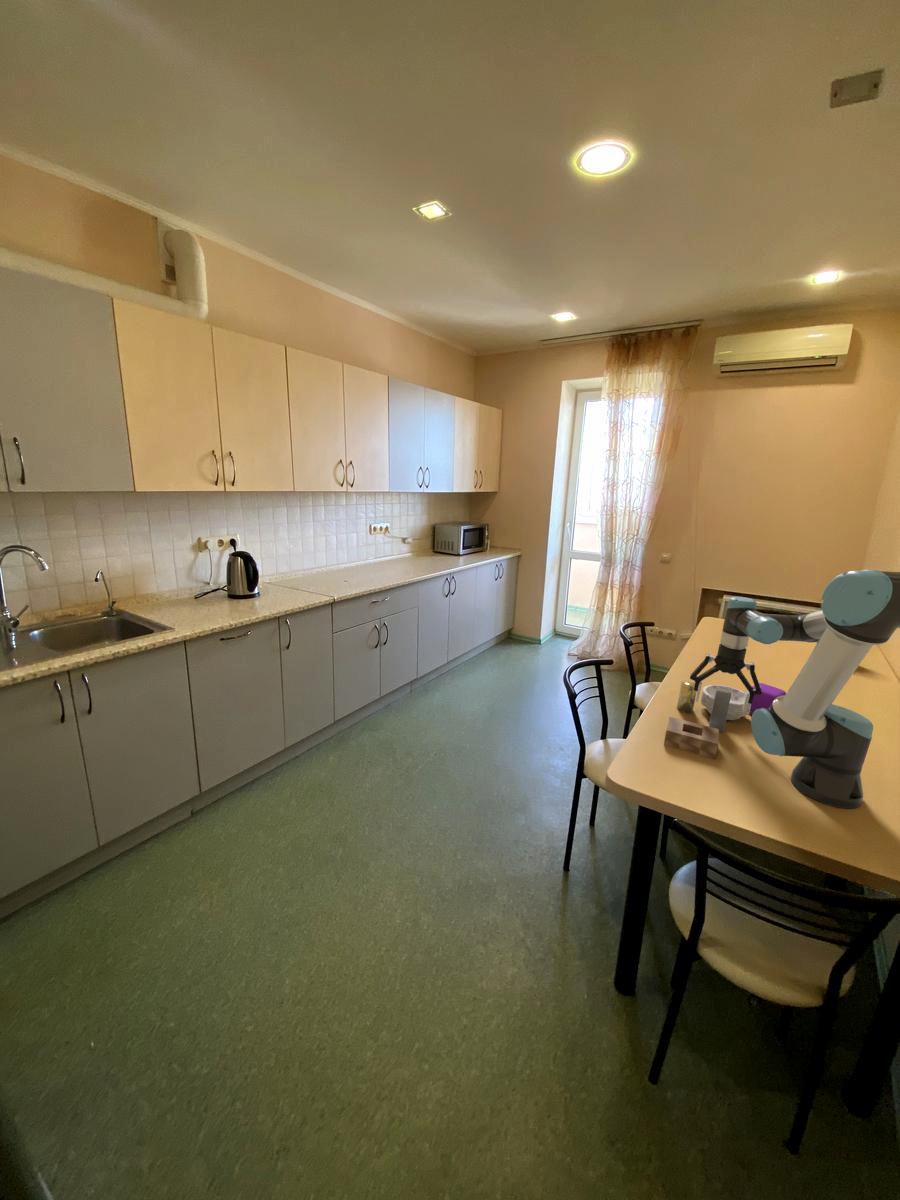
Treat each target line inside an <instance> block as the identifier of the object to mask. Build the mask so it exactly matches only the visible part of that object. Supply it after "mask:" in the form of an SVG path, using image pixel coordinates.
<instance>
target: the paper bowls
mask: <svg viewBox="0 0 900 1200" xmlns="http://www.w3.org/2000/svg"><path fill="white" fill-rule="evenodd" d="M717 686H720V687H725V688H729V689H731V698H730V703H729V708H728V713H727V717H726V721H735V720H740V718H741V717H746V716H748V715H749V714H750V713H751V712H750V709H751V704H750V703H748V705H747V709H746V713H743V705H744V701H745V697H746V692H744V691H743V690H740V689H738V688H734V687H732V686H727V685H721V684H710V685H709V684H708V685H705V686H703V688H702V689H701V691H702V692H701V696H700V703H701V705H702V706H703V707H704V708H706V710H707V712H708V713H709V714H710V715H711V712H712V707H713V702H714V697H715V692H716V687H717Z"/></svg>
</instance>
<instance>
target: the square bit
mask: <svg viewBox="0 0 900 1200" xmlns="http://www.w3.org/2000/svg"><path fill="white" fill-rule="evenodd" d="M730 698H731V689H729V688H725V687H720V686H717V687H716V692H715V697H714V702H713V707H712V712H711V714H710V718H709V723H708V727H712V728H716V729H719V731H718V733H722V734H724V732H725V726H726V722H727V720H726V717H727V713H728V708H729V703H730Z"/></svg>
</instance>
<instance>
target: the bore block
mask: <svg viewBox="0 0 900 1200" xmlns="http://www.w3.org/2000/svg"><path fill="white" fill-rule="evenodd" d="M718 731H719V729H716V728H712V727H709V725H704V724H699V723H697V722H696V723H695V722H691V721H688V720H684V719H680V718H677V717H674V716H673V717H672V716H669V717H668V720H667V726H666V729H665V735H664V742H663V745H664V746H668V747H670V748H675V749H677V750H682V751H685V752H689V753H692V754H696V755H700V756H703V757H706V758H710V759H714V760H716V757H717V756H716V755H717V751H718V748H719V747H718V746H719V732H718Z"/></svg>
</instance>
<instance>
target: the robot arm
mask: <svg viewBox="0 0 900 1200" xmlns="http://www.w3.org/2000/svg"><path fill="white" fill-rule="evenodd" d="M821 600H822V602H821V604H820V608H821V610H819V611H814V612H810V613H806V614H802V615H800V614H799V615H791V614H772V613H771V614H770V613H762V612H760V611H758V610H757V604H758V603H757V601H756V599H753V598H750V597H744V596H732V597H730V598H729V599H728V603H727V607H726V608H725V615H724V621H723V625H722V630H721V636H720V639H719V640H720V641H719V644H718V650H717V654H716V656H713V655H711V654H709V653H706V654H705V656H704V659H703V660H702V661H701V663H699V665H698V666H697V667H696V668H695V669H694V670H693V671H692V673H690V675H689V679H690V681H691V680H692V681H693V682H694V683H695V686H694V691H697V692H696V697H695V703H696V702H697V703H698V702H699V701H700V699H699V698H700V695H701V691H702V689H701V688H702V683H703V681H704V680H706V679H707V678H709V677H710V676H712V675H713V674H715V673H717V672H719V671H720V672H721V673H724V674H725V673H727V674H730V675H734V674H735V675H736V676H737V677H738V678H739V679H740V682H741V683H742V684H743V685H744V688H746V690H747V691H746V692H745V693H746V697H745V701H744V705H743V713H746V709H747V705H748V703H750V704H752V702H753V697H754V695H755V694H759V695H761V694H762V691H761V688H760V685H759V683H760V682H759V680H758V677H757V673H756V672H755V670H756V666H755V665H756V664H755V662H750V663H749V662H745V660H746V659H745V657H746V653H747V647H748V645H749V641H750V639H752V640H753V641H755V642H758V643H761V644H763V645H771V644H774V643H777V642H781V641H782V642H784V641H785V642H786V641H789V642H801V643H802V642H803V643H804V642H805V643H816V644H815V646H814V648H813V649H812V651H811V653H810V655H809V656H808V657H807V659H806V662H805V663H804V664H803V666H802V667H801V669H800V670H799V673H798V674H797V676H796V677H795V679H794V680H793V682H792V684H791V685H790V686H789V688H788V690H787V692H786V695H785V696H779V697H777V698H775V699H774V701H773V703H772V704H771V706H770V707H769V708H768V709H765V708H761V709H757V710H755V711H754V713H752V715H751V719H750V720H751V721H750V726H751V727H750V728H751V732H752V735H753V739H754V741H755V743H756V744H757V746H758V748H760V750H761V751H762V752H763V753H766V754H768V755H773V756H779V757H799V758H800V757H802V758H801V759H800V760H799V761H798V762H797V764H796V765H795V766H794V767H793V768H792V771H791V775H790V782H791V783H792V785H793V786H794V787H795V788H796V789H797V790H799V791H800V792H801V793H802V794H804V795H806V796H807V797H809V798H811V799H813V800H815V801H816V802H817V801H818V802H820V803H822V804H825V805H828V806H831V807H835V808H842V809H855V808H859V807H860V806H861V805H862V802H863V799H864V791H863V784H862V783H863V782H862V777H861V773H862V769H863V766H864V763H865V760H866V757H867V754H868V750H869V748H870V745H871V742H872V740H873V737H872V736H873V731H874V725H873V723H872V721H871V720H870V719H868V718H867V717H865V716H863V714H860V713H858V712H856V711H854V710H852V709H849V708H846V707H843V706H840V705H836V704H834V702H835V700H836V698H838V696H839V694H841V692H842V691H843V689H844V687H846V685H847V683H848V682H849V681H850V679H851V677H853V675H854V673H855V672H856V671H857V669H858V667H859V666H860V665H861V663H862V661H863V660H865V658H866V657H867V655H868V653H869V652H870V650H871V649H872V648H873V646H875V645H878V646H879V645H884V644H886V643H888V641H889V640H890V639H891V637H892V636H893V634H894V633H895V631H896V630H897V629H900V571H885V570H884V571H881V570H876V569H861V570H849V571H846V572H842V573H840V574H838V575H836V576H835V577H834V578H833V579H832V580H830V581H829V582H828V584H827V585H826V586H825V588H824V590H823V592H822V594H821ZM817 642H818V643H817ZM713 661H714V663H715V665H713V666H712V667H710V668H709V669H708V670H706V671H704V672H702V671H703V670H704V669H705V668H706V667H707V665H708V664H709V663H710V664H711V663H712V662H713ZM744 668H746V670H747V671H749V674H750V677H751V678H752V679H751V680H752V682H753V686H754V685H755V688H756V689H753V688H752V685H751V683H750V682H749V680H748V679H747V678H746V676H745V674H744V673H743V671H742V670H743V669H744ZM701 672H702V673H701ZM700 673H701V674H700Z"/></svg>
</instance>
